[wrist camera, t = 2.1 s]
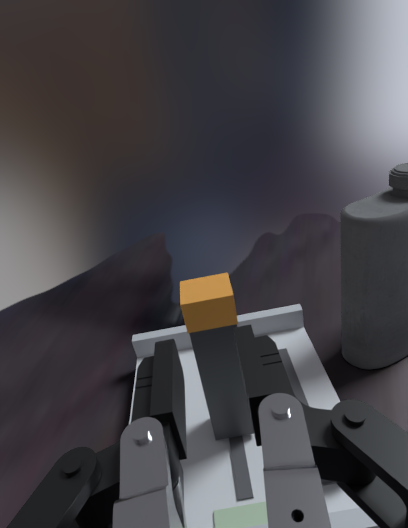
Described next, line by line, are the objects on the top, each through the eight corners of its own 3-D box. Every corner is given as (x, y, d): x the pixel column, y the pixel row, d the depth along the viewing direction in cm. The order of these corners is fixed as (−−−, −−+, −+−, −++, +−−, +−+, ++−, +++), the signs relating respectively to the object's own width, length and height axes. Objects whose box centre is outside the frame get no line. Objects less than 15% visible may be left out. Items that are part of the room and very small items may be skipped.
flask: (378, 383, 39) (388, 198, 30) (332, 355, 44) (328, 187, 34) (456, 317, 45) (484, 147, 36) (409, 298, 50) (423, 143, 41)
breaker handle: (256, 434, 33) (233, 294, 26) (214, 441, 33) (180, 305, 26) (250, 404, 36) (227, 272, 29) (211, 411, 36) (180, 281, 29)
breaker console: (406, 560, 26) (412, 515, 23) (118, 609, 26) (93, 570, 24) (301, 337, 47) (299, 300, 45) (143, 366, 48) (131, 331, 45)
